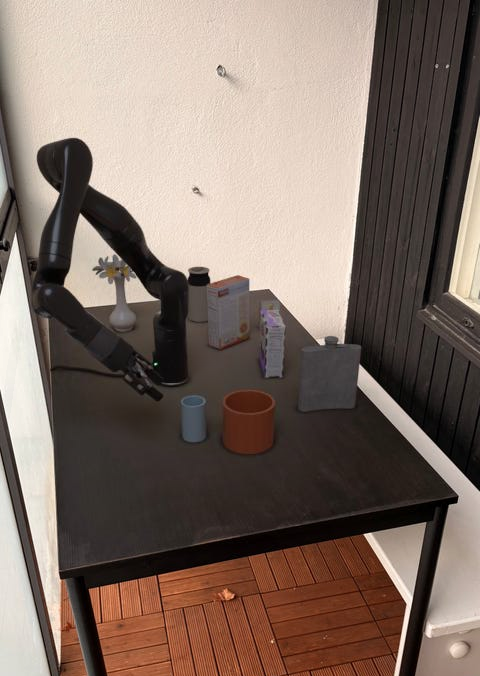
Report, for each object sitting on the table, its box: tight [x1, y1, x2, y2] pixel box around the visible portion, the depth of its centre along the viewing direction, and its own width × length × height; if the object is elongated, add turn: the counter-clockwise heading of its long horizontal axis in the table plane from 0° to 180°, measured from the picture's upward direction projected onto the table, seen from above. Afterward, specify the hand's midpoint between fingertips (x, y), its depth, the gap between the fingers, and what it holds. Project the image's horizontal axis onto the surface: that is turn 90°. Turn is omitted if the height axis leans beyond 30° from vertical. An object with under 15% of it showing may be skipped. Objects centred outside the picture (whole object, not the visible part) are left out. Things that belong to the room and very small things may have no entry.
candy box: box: [259, 310, 286, 379], centre depth 193 cm, size 14×6×16 cm, turn 5°
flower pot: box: [221, 389, 276, 455], centre depth 158 cm, size 13×13×11 cm
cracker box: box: [207, 274, 250, 350], centre depth 210 cm, size 14×6×21 cm, turn 135°
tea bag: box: [258, 299, 281, 330], centre depth 223 cm, size 4×7×10 cm, turn 98°
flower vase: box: [91, 253, 138, 333], centre depth 219 cm, size 13×18×25 cm
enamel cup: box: [180, 394, 207, 443], centre depth 160 cm, size 6×6×10 cm
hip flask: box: [297, 335, 362, 413], centre depth 171 cm, size 16×4×20 cm, turn 99°
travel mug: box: [187, 266, 211, 323], centre depth 229 cm, size 8×8×18 cm
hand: (161, 390), depth 155 cm, fingers open, 8 cm apart
